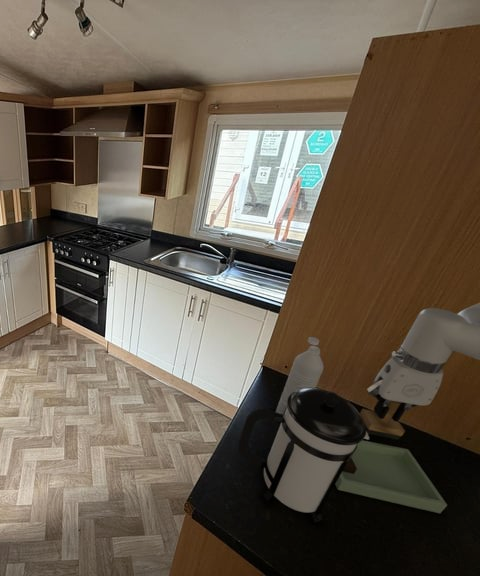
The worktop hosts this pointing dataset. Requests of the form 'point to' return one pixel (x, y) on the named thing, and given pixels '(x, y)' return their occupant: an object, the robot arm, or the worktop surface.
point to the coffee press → (307, 448)
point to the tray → (390, 477)
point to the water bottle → (302, 373)
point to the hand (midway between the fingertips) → (385, 415)
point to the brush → (383, 422)
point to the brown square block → (350, 467)
